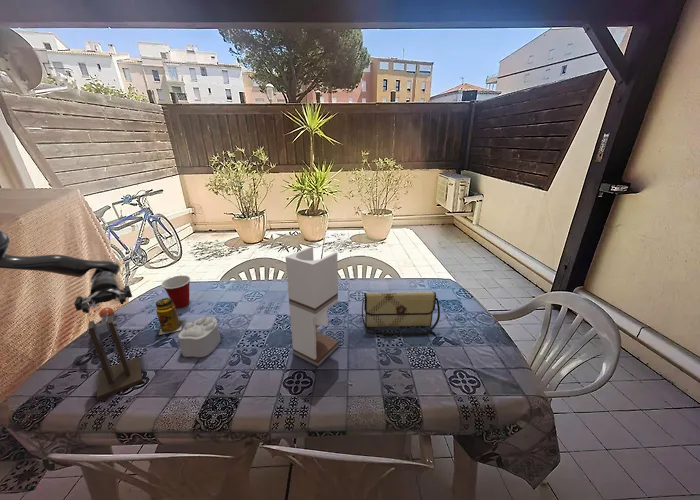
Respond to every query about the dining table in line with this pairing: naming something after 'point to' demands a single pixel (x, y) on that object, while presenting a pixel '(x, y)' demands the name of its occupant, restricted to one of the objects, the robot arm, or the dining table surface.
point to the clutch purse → (400, 310)
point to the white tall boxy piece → (311, 302)
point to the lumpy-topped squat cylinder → (199, 337)
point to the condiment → (168, 316)
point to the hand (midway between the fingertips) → (104, 306)
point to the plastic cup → (178, 290)
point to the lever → (104, 320)
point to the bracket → (118, 374)
